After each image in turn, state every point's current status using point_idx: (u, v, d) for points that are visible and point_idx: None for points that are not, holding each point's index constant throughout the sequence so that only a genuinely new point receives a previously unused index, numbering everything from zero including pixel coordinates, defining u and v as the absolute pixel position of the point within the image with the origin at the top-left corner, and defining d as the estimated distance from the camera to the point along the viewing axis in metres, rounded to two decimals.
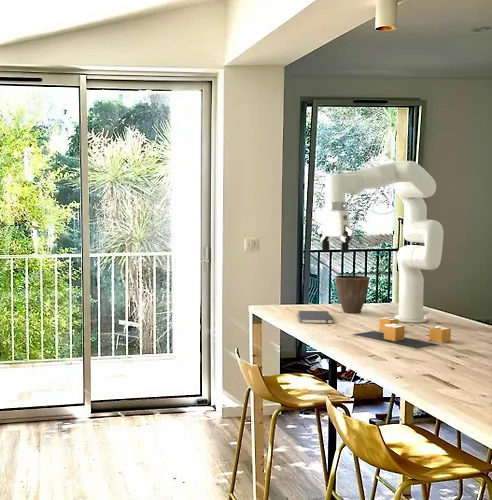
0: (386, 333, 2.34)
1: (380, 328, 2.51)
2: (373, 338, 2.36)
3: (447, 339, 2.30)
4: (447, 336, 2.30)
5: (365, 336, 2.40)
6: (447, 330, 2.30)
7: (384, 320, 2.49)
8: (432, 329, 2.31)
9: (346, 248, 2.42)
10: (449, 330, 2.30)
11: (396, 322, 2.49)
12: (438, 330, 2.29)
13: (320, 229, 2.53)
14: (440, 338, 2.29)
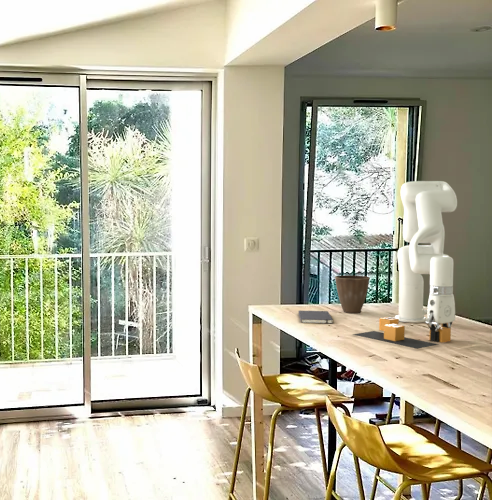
0: (386, 333, 2.34)
1: (380, 328, 2.51)
2: (373, 338, 2.36)
3: (447, 339, 2.30)
4: (447, 336, 2.30)
5: (365, 336, 2.40)
6: (447, 330, 2.30)
7: (384, 320, 2.49)
8: None
9: (432, 337, 2.30)
10: (449, 330, 2.30)
11: (396, 322, 2.49)
12: (438, 330, 2.29)
13: None
14: (440, 338, 2.29)
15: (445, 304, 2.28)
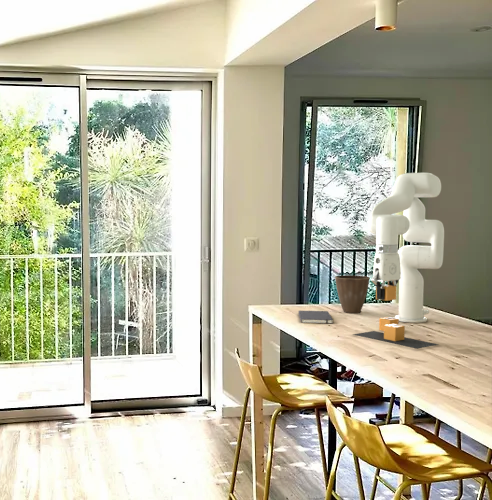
0: (386, 333, 2.34)
1: (380, 328, 2.51)
2: (373, 338, 2.36)
3: (392, 296, 2.36)
4: (392, 293, 2.36)
5: (365, 336, 2.40)
6: (392, 287, 2.36)
7: (384, 320, 2.49)
8: None
9: (378, 294, 2.36)
10: (394, 288, 2.36)
11: (396, 322, 2.49)
12: (384, 287, 2.35)
13: None
14: (385, 295, 2.35)
15: (390, 261, 2.34)
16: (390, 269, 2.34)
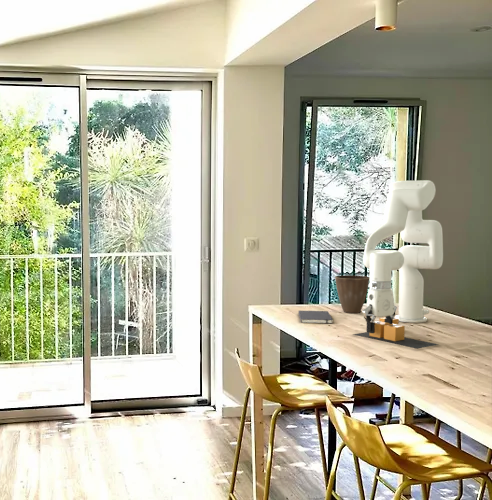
0: (386, 333, 2.34)
1: None
2: (373, 338, 2.36)
3: None
4: None
5: (365, 336, 2.40)
6: None
7: (384, 320, 2.49)
8: None
9: (368, 328, 2.37)
10: None
11: (396, 322, 2.49)
12: (377, 325, 2.37)
13: None
14: (379, 332, 2.37)
15: (384, 298, 2.36)
16: (383, 305, 2.36)
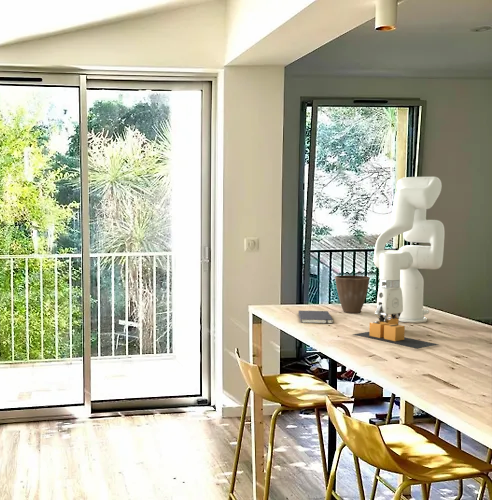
0: (386, 333, 2.34)
1: None
2: (373, 338, 2.36)
3: None
4: None
5: (365, 336, 2.40)
6: None
7: None
8: (372, 324, 2.39)
9: None
10: None
11: (396, 322, 2.49)
12: (377, 325, 2.37)
13: None
14: (379, 332, 2.37)
15: (393, 296, 2.47)
16: (393, 303, 2.47)
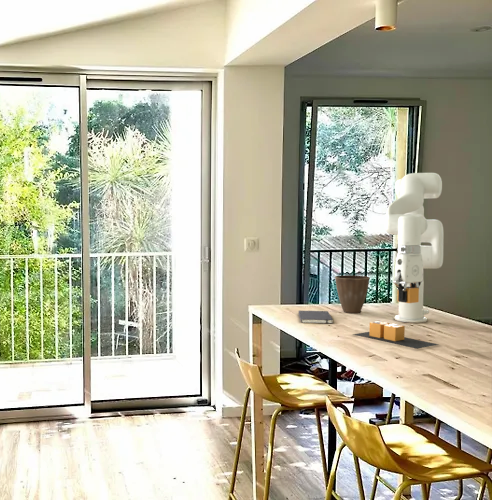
0: (386, 333, 2.34)
1: None
2: (373, 338, 2.36)
3: None
4: None
5: (365, 336, 2.40)
6: None
7: None
8: (372, 324, 2.39)
9: (400, 297, 2.28)
10: None
11: (416, 291, 2.28)
12: (377, 325, 2.37)
13: None
14: (379, 332, 2.37)
15: (413, 263, 2.26)
16: (413, 271, 2.26)
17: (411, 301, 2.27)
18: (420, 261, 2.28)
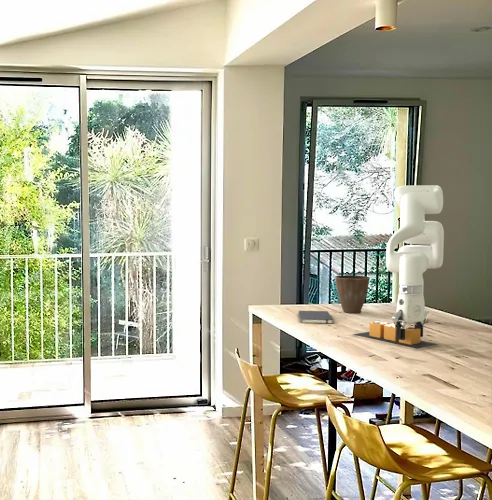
0: (386, 333, 2.34)
1: None
2: (373, 338, 2.36)
3: None
4: None
5: (365, 336, 2.40)
6: None
7: None
8: (372, 324, 2.39)
9: (398, 334, 2.26)
10: None
11: (418, 333, 2.27)
12: (377, 325, 2.37)
13: None
14: (379, 332, 2.37)
15: (415, 303, 2.25)
16: (414, 311, 2.25)
17: (413, 342, 2.26)
18: (422, 301, 2.27)
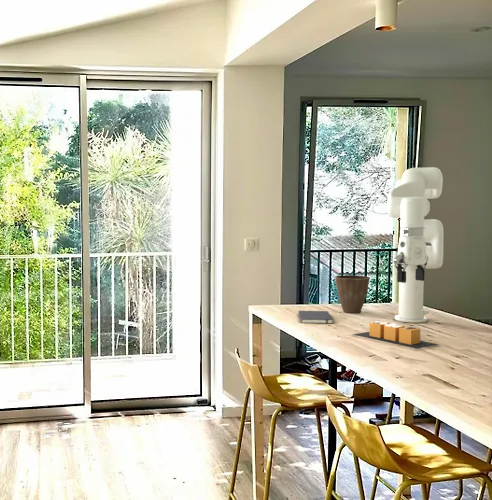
0: (386, 333, 2.34)
1: (400, 339, 2.29)
2: (373, 338, 2.36)
3: None
4: None
5: (365, 336, 2.40)
6: None
7: (404, 330, 2.27)
8: (372, 324, 2.39)
9: (399, 277, 2.24)
10: None
11: (418, 333, 2.27)
12: (377, 325, 2.37)
13: None
14: (379, 332, 2.37)
15: (416, 245, 2.23)
16: (415, 253, 2.23)
17: (413, 342, 2.26)
18: (423, 244, 2.25)
